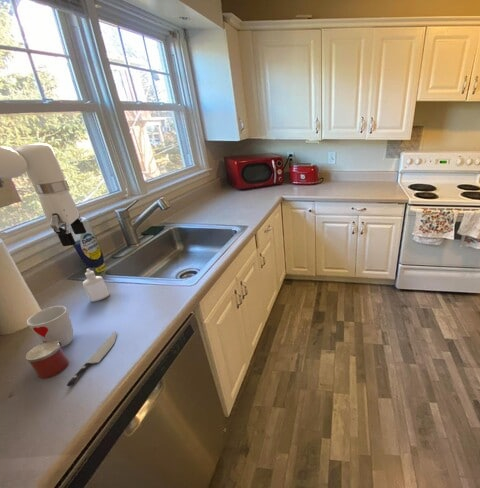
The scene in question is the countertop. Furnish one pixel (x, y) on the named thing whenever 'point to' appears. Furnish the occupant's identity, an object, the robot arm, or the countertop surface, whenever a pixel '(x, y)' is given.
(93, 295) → the eye dropper bottle
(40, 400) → the countertop surface
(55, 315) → the cup
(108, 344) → the chef's knife
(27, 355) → the spice tin
